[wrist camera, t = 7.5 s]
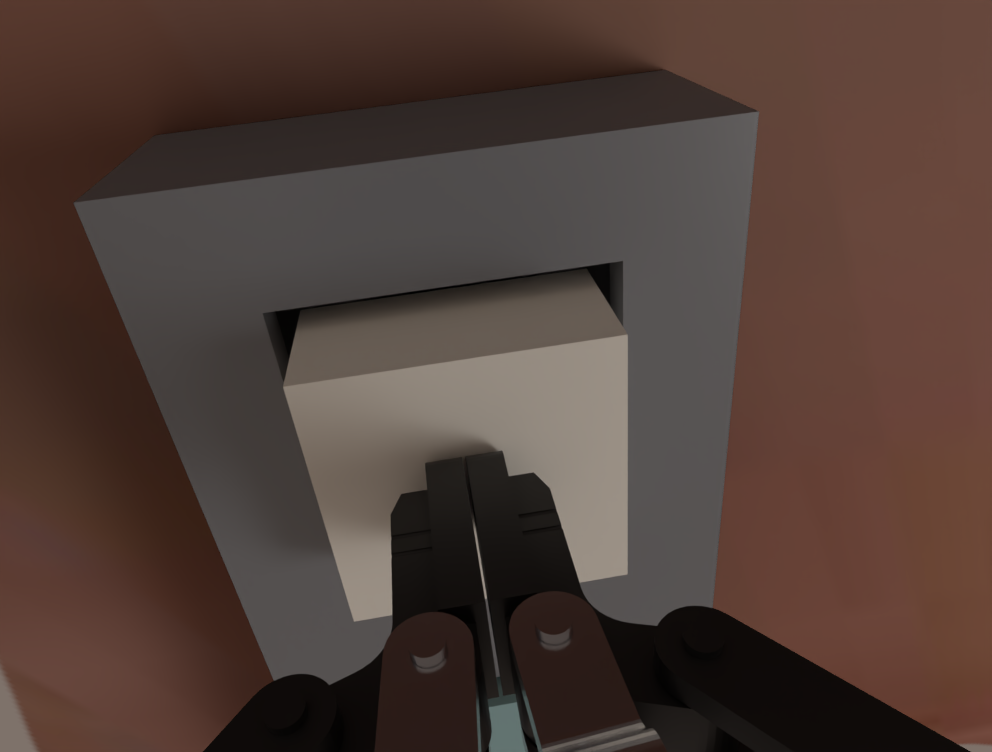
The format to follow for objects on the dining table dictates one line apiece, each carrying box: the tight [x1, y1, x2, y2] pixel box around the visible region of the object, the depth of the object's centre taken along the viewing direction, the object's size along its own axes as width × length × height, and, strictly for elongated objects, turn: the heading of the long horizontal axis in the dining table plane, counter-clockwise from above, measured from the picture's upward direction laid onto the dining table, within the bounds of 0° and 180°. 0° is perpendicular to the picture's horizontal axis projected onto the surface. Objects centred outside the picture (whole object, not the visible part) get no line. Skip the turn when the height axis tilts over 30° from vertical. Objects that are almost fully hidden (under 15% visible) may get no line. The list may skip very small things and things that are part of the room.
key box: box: [74, 70, 759, 685], centre depth 21 cm, size 12×24×5 cm, turn 6°
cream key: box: [283, 269, 628, 622], centre depth 15 cm, size 6×6×3 cm
